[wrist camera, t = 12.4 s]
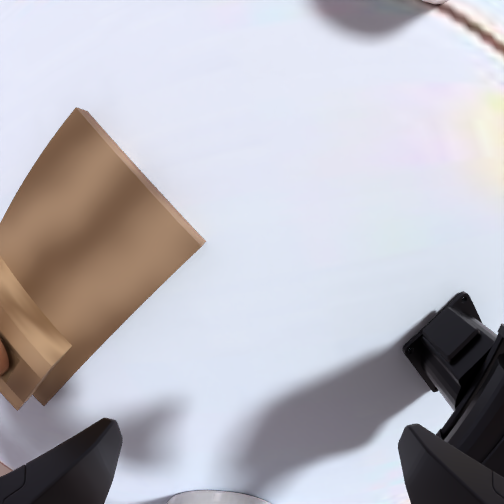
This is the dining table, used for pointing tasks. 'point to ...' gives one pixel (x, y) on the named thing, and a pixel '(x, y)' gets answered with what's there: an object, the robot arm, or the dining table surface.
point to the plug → (3, 359)
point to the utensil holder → (214, 498)
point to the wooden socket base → (79, 256)
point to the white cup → (436, 1)
